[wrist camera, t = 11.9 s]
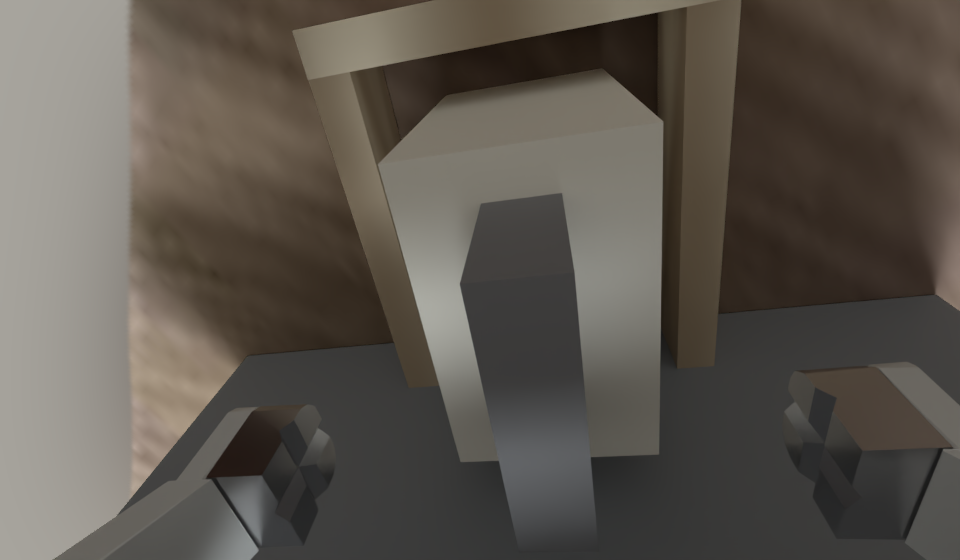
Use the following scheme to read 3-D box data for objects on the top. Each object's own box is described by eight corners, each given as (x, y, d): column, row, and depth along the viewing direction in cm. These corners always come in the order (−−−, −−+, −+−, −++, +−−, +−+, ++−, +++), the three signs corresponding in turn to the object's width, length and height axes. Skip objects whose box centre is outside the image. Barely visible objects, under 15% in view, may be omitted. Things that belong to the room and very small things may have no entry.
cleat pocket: (703, -52, 13) (746, -67, 10) (689, 316, 19) (714, 366, 16) (333, 26, 15) (291, 30, 12) (424, 340, 21) (408, 388, 18)
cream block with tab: (602, 68, 15) (727, 177, 5) (612, 288, 19) (695, 582, 9) (446, 94, 16) (311, 230, 6) (486, 300, 19) (441, 581, 10)
